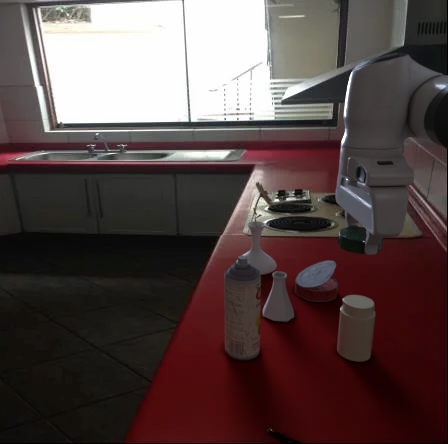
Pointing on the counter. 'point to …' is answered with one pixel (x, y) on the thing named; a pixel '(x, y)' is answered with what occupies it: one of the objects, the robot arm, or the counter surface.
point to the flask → (278, 300)
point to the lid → (354, 239)
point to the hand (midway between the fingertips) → (360, 243)
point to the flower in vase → (256, 254)
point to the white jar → (356, 328)
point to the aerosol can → (242, 310)
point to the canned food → (317, 282)
